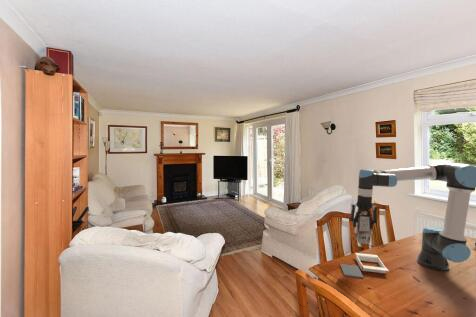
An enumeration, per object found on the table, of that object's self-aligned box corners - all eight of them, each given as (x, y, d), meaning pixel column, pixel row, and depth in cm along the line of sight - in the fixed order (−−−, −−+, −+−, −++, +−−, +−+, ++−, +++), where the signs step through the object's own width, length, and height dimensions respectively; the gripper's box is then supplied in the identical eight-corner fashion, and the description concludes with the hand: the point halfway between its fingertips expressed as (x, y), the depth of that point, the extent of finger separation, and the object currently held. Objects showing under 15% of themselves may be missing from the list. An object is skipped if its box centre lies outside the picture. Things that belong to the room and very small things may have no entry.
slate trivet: (357, 267, 142) (357, 265, 142) (363, 278, 131) (363, 276, 130) (340, 265, 144) (340, 263, 144) (344, 275, 133) (344, 274, 133)
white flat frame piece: (376, 259, 151) (376, 255, 151) (388, 276, 133) (388, 270, 132) (354, 257, 154) (355, 252, 154) (363, 273, 136) (363, 267, 135)
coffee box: (370, 244, 134) (372, 217, 133) (358, 243, 136) (360, 216, 135) (365, 238, 143) (367, 212, 142) (353, 236, 145) (355, 211, 144)
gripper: (381, 195, 139) (378, 232, 141) (345, 192, 143) (343, 229, 145) (385, 198, 132) (382, 237, 133) (348, 195, 136) (346, 233, 138)
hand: (362, 233), depth 139 cm, fingers closed on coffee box, 6 cm apart
